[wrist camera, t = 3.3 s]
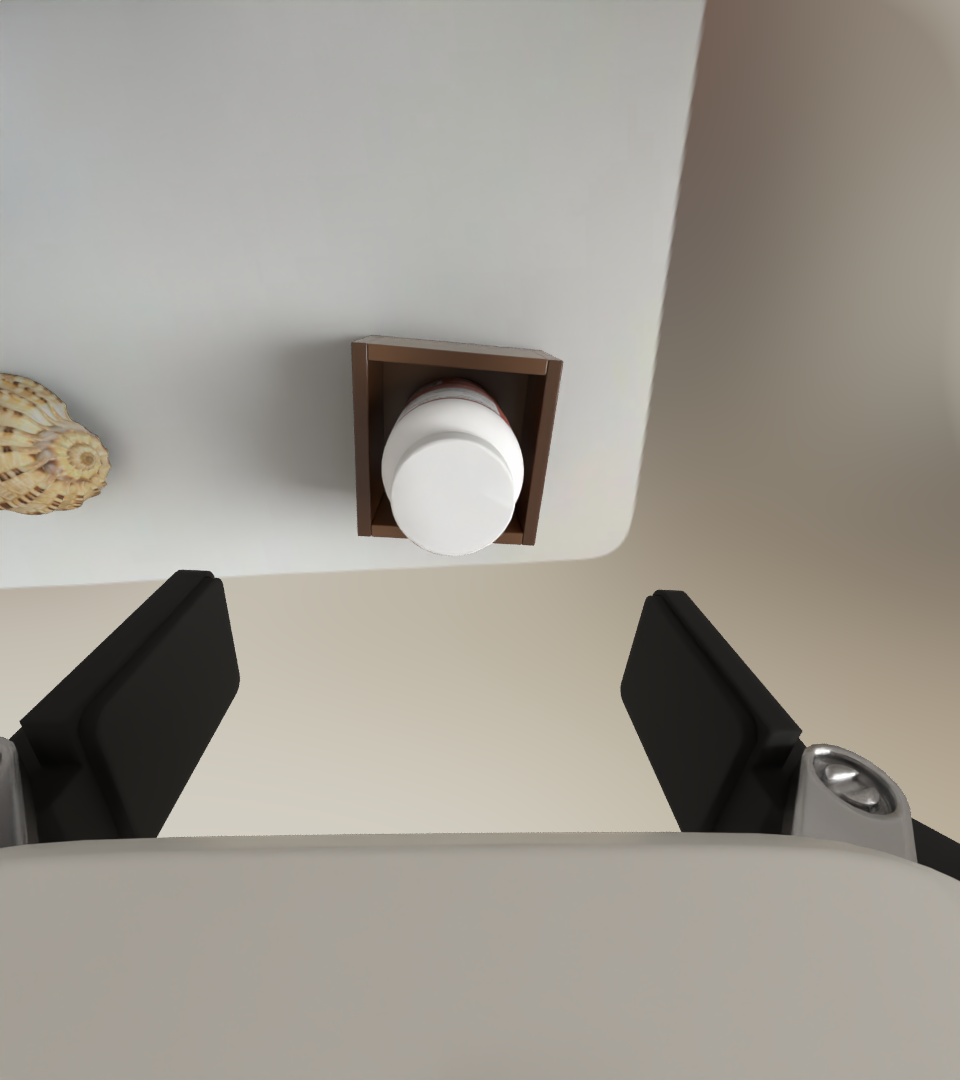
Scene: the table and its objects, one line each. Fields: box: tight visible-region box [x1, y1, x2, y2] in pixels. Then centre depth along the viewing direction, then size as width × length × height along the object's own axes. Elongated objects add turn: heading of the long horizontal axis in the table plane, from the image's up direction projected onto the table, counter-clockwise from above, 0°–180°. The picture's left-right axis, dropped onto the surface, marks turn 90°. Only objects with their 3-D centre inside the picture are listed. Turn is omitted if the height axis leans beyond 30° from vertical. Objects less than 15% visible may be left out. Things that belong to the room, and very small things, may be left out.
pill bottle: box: [382, 378, 524, 556], centre depth 22 cm, size 6×6×11 cm
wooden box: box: [351, 335, 563, 545], centre depth 25 cm, size 9×9×6 cm
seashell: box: [0, 373, 112, 515], centre depth 25 cm, size 8×6×10 cm
